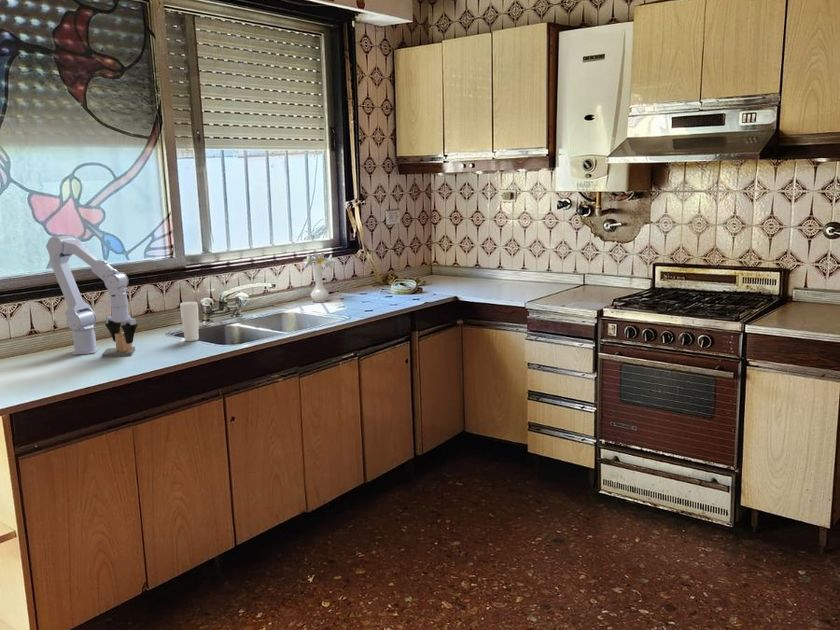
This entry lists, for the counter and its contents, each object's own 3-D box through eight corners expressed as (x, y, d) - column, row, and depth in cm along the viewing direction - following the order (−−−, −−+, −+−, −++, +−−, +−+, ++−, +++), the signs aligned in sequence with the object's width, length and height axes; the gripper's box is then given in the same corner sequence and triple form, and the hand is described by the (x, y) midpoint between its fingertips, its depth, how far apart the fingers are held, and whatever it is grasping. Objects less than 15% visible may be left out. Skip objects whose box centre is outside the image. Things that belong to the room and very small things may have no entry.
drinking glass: (179, 340, 295) (176, 303, 292) (195, 337, 300) (191, 300, 297) (188, 342, 290) (185, 305, 288) (204, 339, 295) (200, 302, 293)
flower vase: (340, 298, 384) (338, 250, 379) (321, 304, 368) (318, 254, 363) (319, 297, 390) (316, 250, 385) (299, 303, 373) (296, 254, 369)
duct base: (107, 351, 279) (105, 338, 278) (135, 349, 281) (133, 336, 280) (102, 357, 270) (100, 343, 269) (131, 355, 272) (129, 341, 271)
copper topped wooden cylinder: (113, 351, 274) (111, 333, 273) (126, 348, 279) (124, 331, 277) (122, 352, 271) (120, 335, 270) (135, 349, 276) (133, 332, 274)
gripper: (141, 305, 271) (145, 341, 274) (116, 302, 279) (120, 338, 281) (124, 308, 265) (128, 345, 268) (99, 306, 273) (103, 342, 275)
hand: (123, 342), depth 274 cm, fingers open, 7 cm apart
